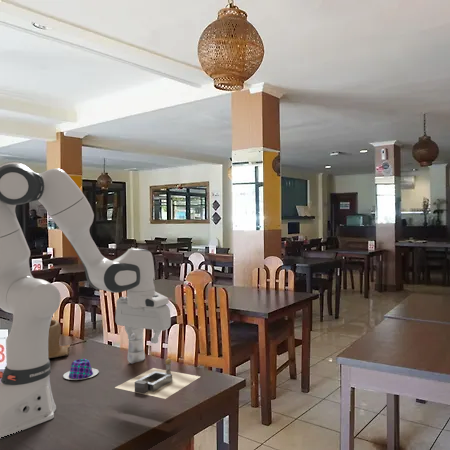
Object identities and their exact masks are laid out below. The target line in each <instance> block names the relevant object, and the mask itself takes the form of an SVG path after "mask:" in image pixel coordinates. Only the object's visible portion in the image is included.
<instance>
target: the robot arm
mask: <svg viewBox="0 0 450 450" xmlns="http://www.w3.org/2000/svg"><path fill="white" fill-rule="evenodd" d="M36 201H38V202H39V203H40V204H41V205H42V206H43V207H44V210H46V212H47V214H48V215H49V217H50V218H51V219H52V221H53V222H54V223H55V224H56V226H57V227H58V228H59V230H60V231H62V234H63V235H64V236H65V237H66V238H67V240H68V242H69V244H70V245H71V247H72V249H74V251H75V253H76V255H77V256H78V258H79V260H80V262H81V263H82V265H83V268H84V273H85V279H86V280H87V281H86V282H88V284H89V285H90V287H92V288H93V289H95V290H97V291H98V290H100V291H104V292H105V291H106V292H109V293H113V294H114V293H116V294H117V293H122V292H125V291H126V297H124V296H120V297H119V298H118V299H117V300H116V306H115V318H114V319H115V321H114V322H115V323H116V326H121V327H124V330H125V332H126V334H127V339H128V340H134V339H135V334H133V332H132V330H131V328H132V327H136V328H144V329H145V330H152V332H153V336H152V337H150V343H151V344H158V343H159V337H160V334H161V333H162V331H163V332H165V331H166V330H168V329H169V328H170V327H171V324H172V319H171V318H172V317H171V310H170V307H169V306H168V304H169V301H170V300H169V297H167V296H166V295H163V294H162V293H160V292H157V291H156V287H155V282H154V278H155V265H154V263H155V262H154V257H153V254H152V252H151V251H150V250H148V249H143V248H137V247H136V248H133V247H132V248H128V249H126V251H125V252H124V253H123V254H122V255H120V256H118V257H117V258H115V259H113V260H111V259H109V258H107V257H105V256H104V255H103V254H102V253H101V251H100V249H99V247H98V246H97V245H96V243H95V241H94V240H93V237H92V235H91V233H90V229H91V226H92V224H93V222H94V218H95V213H94V211H93V208H92V206H91V204H90V202H89V201H88V198H87V197H86V196H85V194H84V192H83V191H82V189H80V187H79V186H78V185H77V183H76V182H75V181H74V180H73V179H72V178H71V176H70V175H69V174H68V173H67V172H66V171H65V170H63V169H60V168H50V169H47V170H45V171H43V172H39V173H38V172H36V171H33V170H32V169H31V168H30V167H29V166H28V165H26V164H25V163H23V162H20V161H16V160H15V161H7V162H3V163H1V164H0V309H1V310H2V311H4V312H5V313H9V314H12V318H13V319H12V323H11V328H10V332H9V334H8V336H6V338H5V349H6V350H5V355H6V356H5V360H6V366H5V367H4V369H3V371H0V439H2V438H1V437H4V436H7V435H9V436H11V435H10V434H12V435H14V434H17V433H19V432H22V431H24V430H27V429H30V428H32V427H34V426H37V425H40V424H42V423H45V422H48V421H50V420H52V419H54V418H55V412H56V410H57V405H56V403H55V400H54V397H53V396H54V395H53V392H52V385H51V379H50V375H51V371H52V370H51V360H50V358H49V359H48V334H49V327H50V323H51V320H53V315H55V313H56V312H57V311H58V310H59V307H60V305H61V293H60V291H59V289H58V287H56V286H55V285H54V284H53V283H51V282H49V281H47V280H45V279H42V278H35V277H34V275H32V272H31V269H30V257H31V250H30V247H29V245H28V242H27V240H26V238H25V237H26V236H25V235H24V232H23V229H22V227H21V225H20V223H19V220H18V218H17V214H16V207H17V206H19V205H24V204H28V203H32V202H36ZM144 329H143V330H144ZM128 340H127V341H128ZM21 430H22V431H21ZM18 431H19V432H18ZM16 432H17V433H16ZM13 433H14V434H13ZM7 437H8V436H7ZM4 438H5V437H4Z"/></svg>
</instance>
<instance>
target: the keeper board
mask: <svg viewBox="0 0 450 450" xmlns="http://www.w3.org/2000/svg"><path fill="white" fill-rule="evenodd" d="M164 361H165V362H164V363H165V369H160V368H156V367H152V368H151V369H149V370H148V369H147V370H146V371H144V372H142V373H140V374H139V375H137V376H134V377H133V378H131V379H129V380H126V381H125V382H123V383H121V384H119V385H117V386H115V387H114V388H115V389H119V390H121V391H122V390H123V391H128V392H133V393H135V394H136V393H137V394H142V395H145V396H150V397H154V398H159V399H162V400H163V399H164V400H166V399H168V398H170V397H171V396H172V395H174V394H176V393H177V392H179V391H181V390H183V389H184V388H185V387H187V386H188V385H190V384H191V383H193V382H195V381H196V380H198V379H200V378H201V376H199V375H194V374H188V373H183V372H179V371H177V372H176V371H172V365H171V364H172V359H171V358H167V359H165V360H164ZM154 371H157V372H163V373H168V374H172V381H171V382H170V383H168V384H166V385H164V386H163V387H161V388H159V389H158V390H156V391H154V392H152V391H148V382H146V381H141V380H139V379H141V378H143V377H145V376H147V375H149V374H150V373H152V372H154ZM137 380H138V381H137ZM155 381H157V379H156V380H154V381H152V382H151V383H153V382H155Z"/></svg>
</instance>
